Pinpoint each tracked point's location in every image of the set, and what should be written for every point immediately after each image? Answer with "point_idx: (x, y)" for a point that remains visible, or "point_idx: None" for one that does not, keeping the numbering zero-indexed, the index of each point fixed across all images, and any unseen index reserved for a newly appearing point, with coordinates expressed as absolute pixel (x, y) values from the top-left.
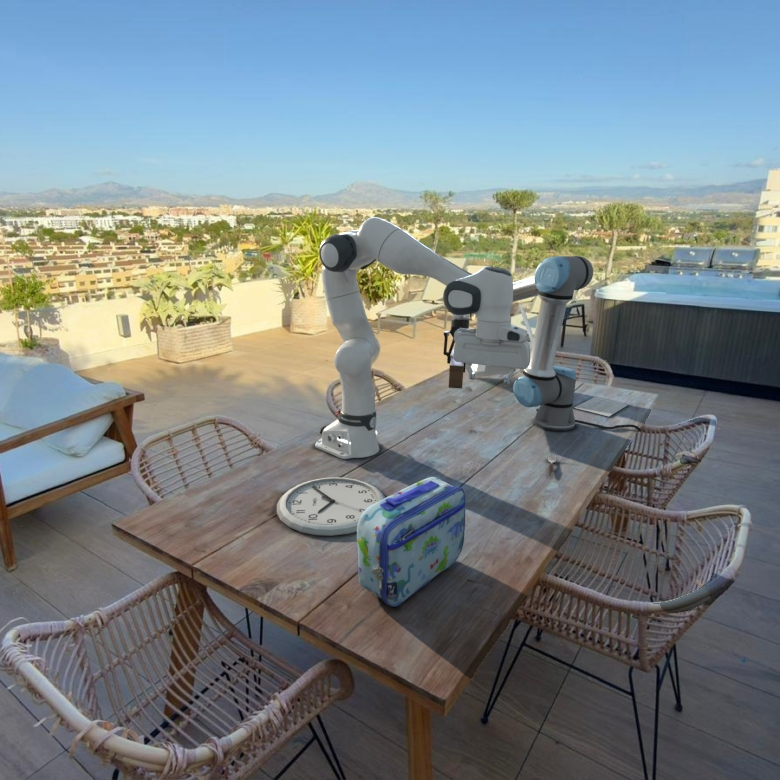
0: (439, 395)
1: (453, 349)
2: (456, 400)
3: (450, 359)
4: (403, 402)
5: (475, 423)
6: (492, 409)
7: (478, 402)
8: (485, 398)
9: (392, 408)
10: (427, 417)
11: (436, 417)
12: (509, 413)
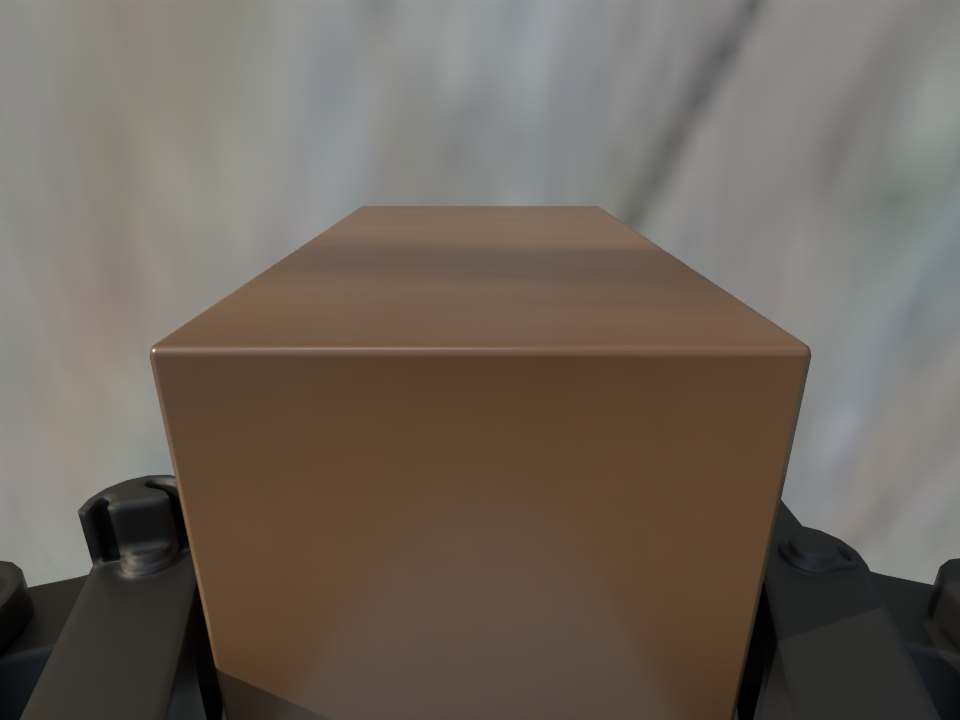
0: (299, 110)
1: (196, 370)
2: None
3: None
4: (25, 400)
5: None
6: (799, 431)
7: (705, 267)
8: (803, 114)
9: (3, 547)
10: None
11: None
12: (918, 494)
